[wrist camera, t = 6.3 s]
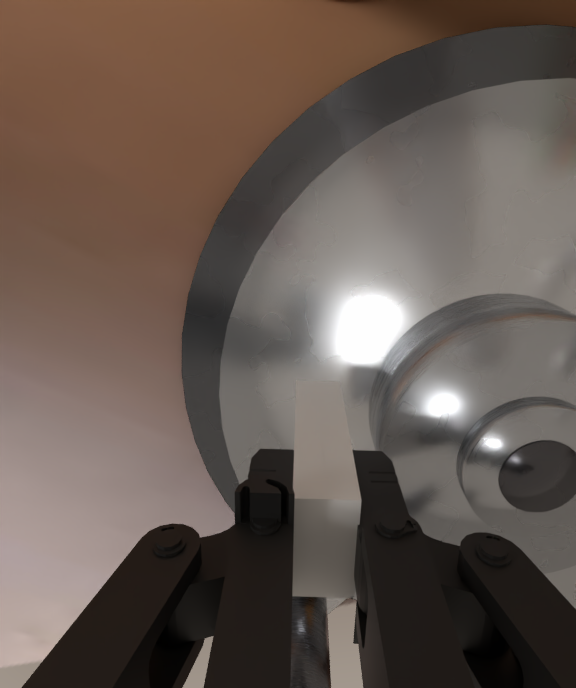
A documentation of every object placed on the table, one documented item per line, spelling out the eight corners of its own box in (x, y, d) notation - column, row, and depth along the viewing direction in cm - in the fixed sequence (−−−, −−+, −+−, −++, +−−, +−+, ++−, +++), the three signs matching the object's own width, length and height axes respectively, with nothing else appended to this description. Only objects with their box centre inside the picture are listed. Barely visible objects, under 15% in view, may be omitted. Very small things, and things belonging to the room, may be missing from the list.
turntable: (216, 621, 25) (176, 819, 17) (197, 84, 17) (108, 7, 9) (673, 641, 24) (843, 857, 17) (869, 94, 17) (1362, 21, 9)
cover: (357, 501, 20) (370, 588, 16) (382, 285, 17) (408, 320, 13) (578, 516, 20) (651, 607, 16) (641, 301, 17) (751, 342, 13)
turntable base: (196, 599, 26) (194, 607, 25) (166, 24, 17) (162, 19, 17) (704, 621, 25) (712, 629, 25) (927, 33, 17) (945, 29, 16)
